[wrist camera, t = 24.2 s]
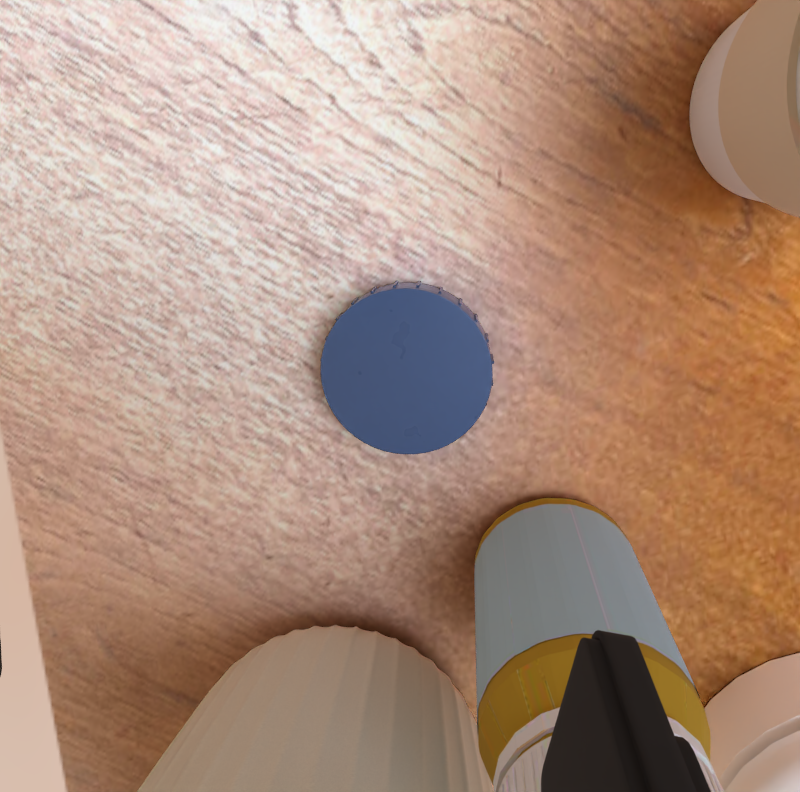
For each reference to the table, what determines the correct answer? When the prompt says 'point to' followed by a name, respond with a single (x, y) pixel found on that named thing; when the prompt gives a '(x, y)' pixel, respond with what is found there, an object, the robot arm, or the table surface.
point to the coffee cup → (753, 106)
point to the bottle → (562, 632)
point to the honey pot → (758, 729)
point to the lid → (407, 368)
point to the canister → (327, 722)
